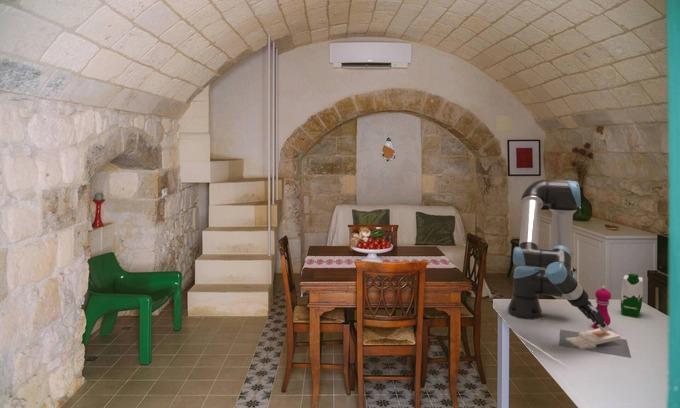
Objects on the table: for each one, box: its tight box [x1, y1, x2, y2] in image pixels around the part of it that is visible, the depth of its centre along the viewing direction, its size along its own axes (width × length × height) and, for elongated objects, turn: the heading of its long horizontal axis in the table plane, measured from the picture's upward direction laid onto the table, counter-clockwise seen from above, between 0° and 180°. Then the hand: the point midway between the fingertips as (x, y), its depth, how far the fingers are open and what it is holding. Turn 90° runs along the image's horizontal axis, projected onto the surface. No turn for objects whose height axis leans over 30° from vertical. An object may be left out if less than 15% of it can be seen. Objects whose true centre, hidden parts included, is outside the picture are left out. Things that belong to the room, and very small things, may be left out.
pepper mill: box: [591, 285, 612, 329], centre depth 211 cm, size 7×7×20 cm
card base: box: [565, 337, 596, 350], centre depth 196 cm, size 7×9×1 cm
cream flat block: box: [579, 328, 621, 345], centre depth 197 cm, size 2×9×12 cm
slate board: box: [558, 328, 632, 359], centre depth 197 cm, size 19×25×1 cm
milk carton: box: [620, 273, 645, 319], centre depth 231 cm, size 9×9×20 cm
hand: (606, 330), depth 198 cm, fingers closed
